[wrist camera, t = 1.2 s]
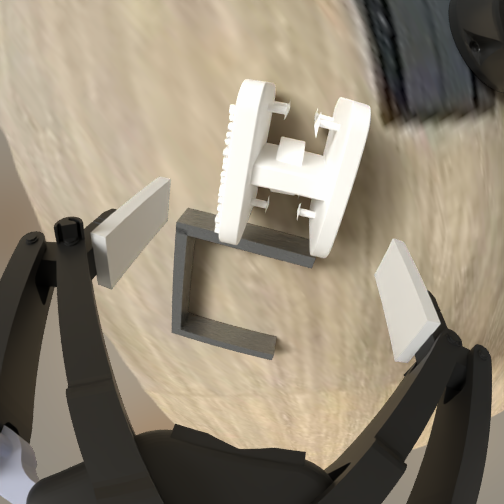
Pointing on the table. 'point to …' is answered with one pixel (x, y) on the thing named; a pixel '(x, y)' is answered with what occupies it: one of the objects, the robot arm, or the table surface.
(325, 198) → the cable organizer
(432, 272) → the table surface
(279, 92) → the table surface
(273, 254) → the bracket
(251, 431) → the table surface
